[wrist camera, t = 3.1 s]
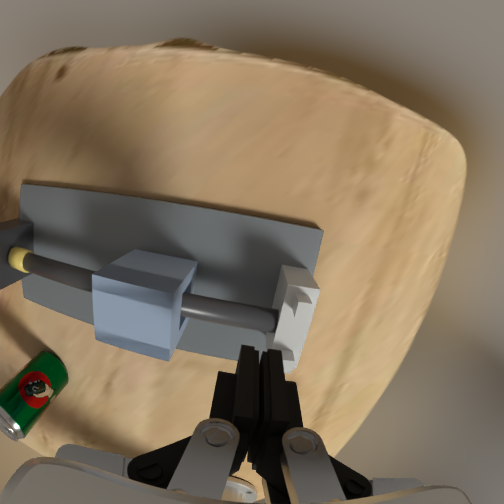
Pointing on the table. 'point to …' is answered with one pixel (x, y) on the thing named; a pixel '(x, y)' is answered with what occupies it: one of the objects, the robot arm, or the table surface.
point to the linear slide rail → (176, 245)
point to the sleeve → (142, 302)
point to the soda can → (30, 394)
